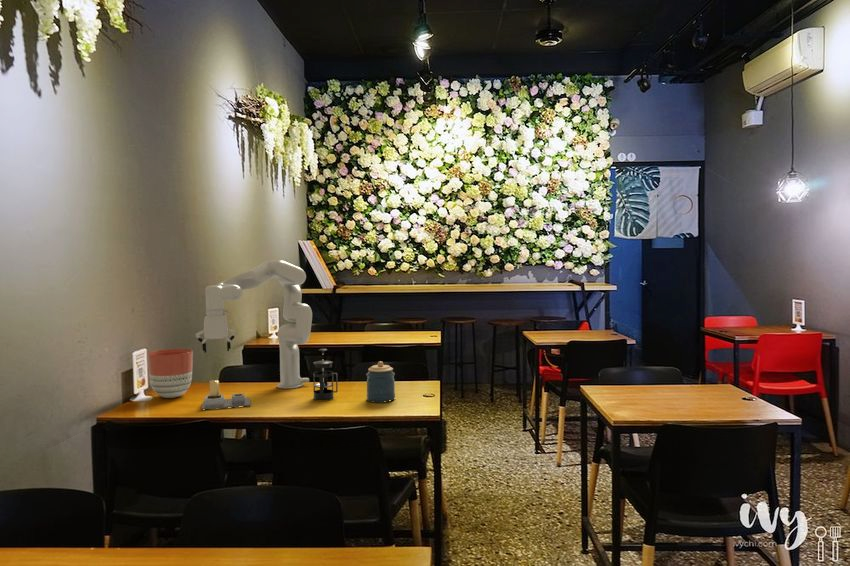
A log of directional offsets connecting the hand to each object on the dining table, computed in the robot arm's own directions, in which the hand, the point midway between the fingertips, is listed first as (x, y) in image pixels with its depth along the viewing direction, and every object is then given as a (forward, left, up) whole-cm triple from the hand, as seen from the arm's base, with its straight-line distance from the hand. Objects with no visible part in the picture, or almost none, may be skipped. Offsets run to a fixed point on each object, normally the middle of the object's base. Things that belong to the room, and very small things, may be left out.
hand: (216, 351), depth 259 cm
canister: (-71, +18, -24) cm, 77 cm away
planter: (+21, -21, -24) cm, 39 cm away
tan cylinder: (+1, +3, -23) cm, 23 cm away
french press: (-47, +7, -24) cm, 53 cm away
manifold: (-4, +4, -24) cm, 24 cm away
